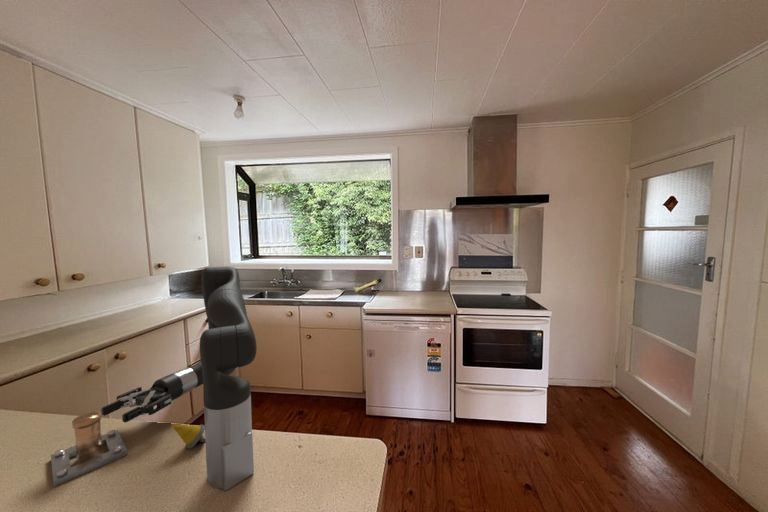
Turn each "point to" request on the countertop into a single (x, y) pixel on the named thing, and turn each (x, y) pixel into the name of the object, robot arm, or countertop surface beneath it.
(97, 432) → the pipe stub
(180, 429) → the drill bit
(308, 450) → the countertop surface
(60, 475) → the flange
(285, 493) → the countertop surface
